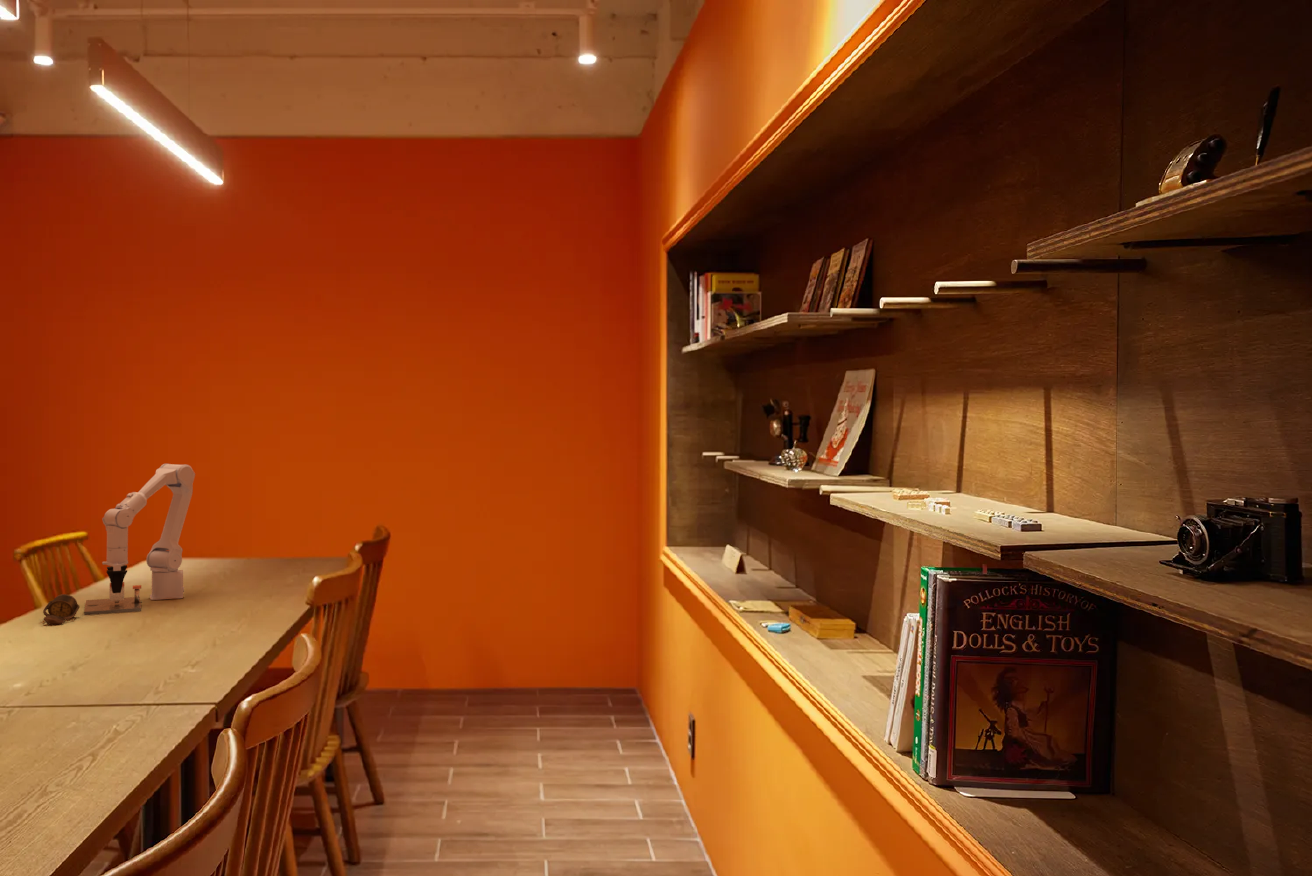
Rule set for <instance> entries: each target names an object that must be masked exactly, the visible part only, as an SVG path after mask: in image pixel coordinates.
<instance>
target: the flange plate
mask: <svg viewBox="0 0 1312 876" xmlns="http://www.w3.org/2000/svg"><path fill="white" fill-rule="evenodd" d="M140 589H142V585H141V584H138V585H132V590H134V593H133V594H134V596H132V597H129V596H128V597H124V600H119V603H115V601H109V600H110V598H101V599H100V598H99V599H86V600H85V606H84V611H83V614H84V615H83V616H92V615H105V614H119V613H123V614H124V613H135V612H137V613H138V612H142V603H143V601H141V596H140Z"/></svg>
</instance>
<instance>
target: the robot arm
mask: <svg viewBox="0 0 1312 876" xmlns="http://www.w3.org/2000/svg"><path fill="white" fill-rule="evenodd" d="M195 477H196V472H195V471H194V470H193V468H192V466H191V465H189V464H176V463H175V464H173V463H172V464H171V463H163V464H161V466H160V467H159V468H157V469H156V470H155V473H154V475H153V476H152V477H151V478H150V479H149V480H148V481H147V482H146V483H145V484H144V485H143V486H142V487H141V488H140V490H139V491H138V492H136V491H132V492H129V493H127V494H126V497H125V498H124V499H123V500H122V501H121V502H119V503H117V504H116V505H115V508H110V509H108V510H107V511H106V512H105V513H104V516H103V517H102V518H101V520H102V523H103V525H104V526H105V531H106V561H102V562H101V563H102V565H103V566H104V565H106V566H107V567H106V574H107V576H108V579H109V581H110V582H109V583H111V587H112V592H113V593H121V589H122V584H123V582H124V579H125V577H126V575H127V573H128V570H127V568H128V564H129V559H128V557H129V554H128V551H129V545H128V543H129V526H131V525H132V523H133V521H134V518H135V517H136V515H137V514H138V513H139V512H140V511H141V510H142V509H143V508H145V506H147V504H148V502H147V501H148V499H149V498H150V497H152V496H153V495H154V494H156V492H157V491H159V490H161V489H162V488H163V487H164V486H166V487H167V488H168V489H169V490H171V492H172V498H171V502H170V505H169V508H168V512H167V514H166V515H167V516H166V518H165V522H164V525H163V529H162V532H161V535H160V538H159V540H158V541H156V542H155V543H154V544H152V547H151V549H150V551H149V553H147V555H146V558H145V560H146V564H147V566H148V568H149V569H150V571H151V594H150V595H149V597H150V598H149V599H150V601H157V600H171V599H183V598H184V592H185V587H184V570H183V569H179V568H180V567H181V565H182V563H183V557H182V554H183V548H182V546H181V545H180V544H179V542H180V537H181V534H182V530H183V528H184V527H183V526H184V524H185V520H186V517H187V513H188V510H189V506H190V503H191V500H192V496H193V491H194V489H193V487H194V485H193V483H194V481H195Z"/></svg>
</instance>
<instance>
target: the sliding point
mask: <svg viewBox="0 0 1312 876" xmlns="http://www.w3.org/2000/svg"><path fill="white" fill-rule="evenodd" d="M124 598H125V581H123V584H122V589H121V593H113V592H112V587H111V582H109V599H110V600H109V601H115V603H119V600H124Z"/></svg>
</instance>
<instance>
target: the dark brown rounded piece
mask: <svg viewBox="0 0 1312 876" xmlns="http://www.w3.org/2000/svg"><path fill="white" fill-rule="evenodd" d="M79 609H80V604H78V602H77V600H76V598H75V597H74V596H72V595H70V594H62V593H61V594H58V595H57V596H56V597H54V599H53V600H50V601H48V603H47V604H46V606H45V607H44V608H43V611H42V613H43V615H44V617H43V621H44V622H45V623H46V624H48V625H50V626H56V625H59V626H60V625H62V624H64V623H65V620H70V619H72V618H74V617H75V616H76V614H77V613H78V611H79Z"/></svg>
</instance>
